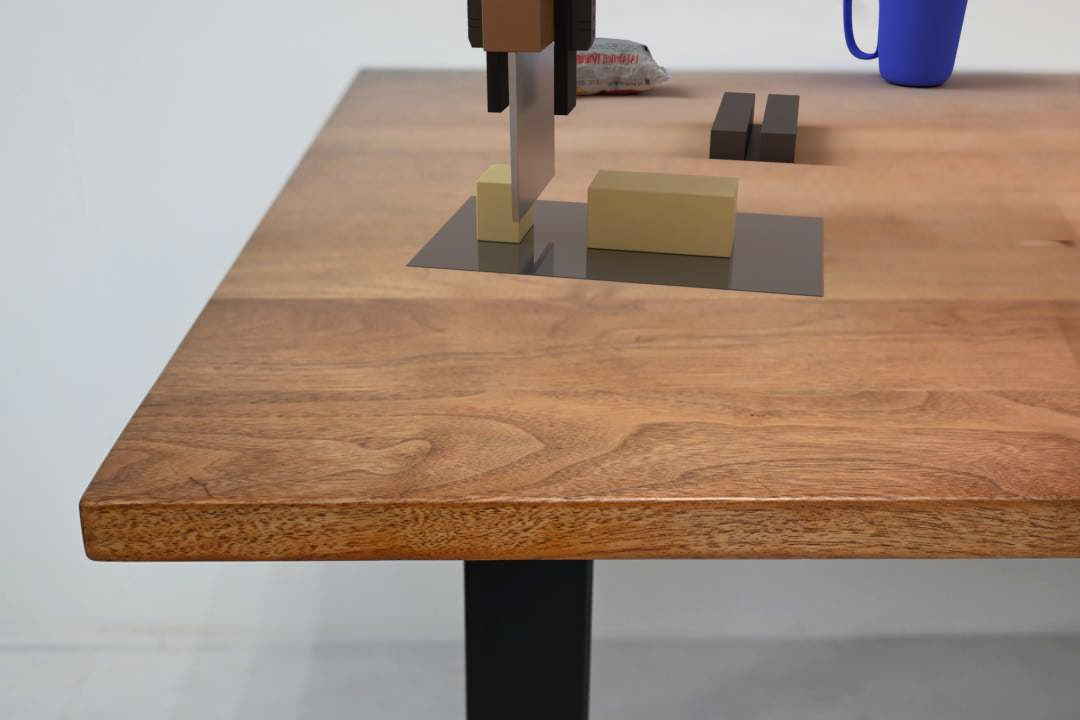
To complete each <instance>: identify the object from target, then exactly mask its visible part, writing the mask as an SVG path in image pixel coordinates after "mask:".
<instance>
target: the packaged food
mask: <svg viewBox="0 0 1080 720" xmlns="http://www.w3.org/2000/svg"><path fill="white" fill-rule="evenodd" d="M672 74H673V71H672V69H670V68H666V67H664V66H660V65H659V64H658V63H657V61H656V60H655V59H654V58H653V55H652V52H651V50H650V49H649V47H648V46H647V45H646V44H644V43H640V42H638V41H637V42H636V41H633V40H629V39H623V38H622V39H621V38H610V37H596V38H595V40H594V42H593V45H592V47H591V48H590V49H589V50H588V51H577V63H576V96H598V95H606V96H607V95H608V96H621V95H631V94H635V93H641V92H644V91H647V90H651V89H652V88H653V87H654V86H657V85H662V83H666V82H669V80H670V79H671V78H672V76H673V75H672Z"/></svg>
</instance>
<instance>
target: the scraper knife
mask: <svg viewBox="0 0 1080 720" xmlns="http://www.w3.org/2000/svg"><path fill="white" fill-rule="evenodd" d="M482 26H483V48H482V51H483V52H484V53H486V52H508V72H509V106H508V108H509V145H510V146H509V148H510V149H509V150H510V151H509V153H510V165H511V194H512V222H520V220H521V219H522V218H523V216H524V215H525V214H526V213H527V211H528V210H529V209H530V207H531V206H532V205H533V203H534V202H535V201H536V200H538V198H539V197H540V196H541V194H542V193H543V192H544V191H545V189H546V188H547V186H548V185H549V184H550V183H551V181H552V180H553V178H554V177H555V176H556V156H555V155H556V147H555V146H556V145H555V143H556V140H555V139H556V138H555V115H554V0H482Z"/></svg>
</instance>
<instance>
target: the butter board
mask: <svg viewBox="0 0 1080 720" xmlns="http://www.w3.org/2000/svg"><path fill="white" fill-rule="evenodd" d="M587 203H588V202H577V201H563V200H549V199H548V200H547V199H546V200H545V199H536V201H535V202H534V223H533V225H532V226H531V228H530V229H529V230H528V232H527V233H526V235H525V236H524V237H523V239H522V240H521V241H520V243H508V242H494V241H479V240H477V200H476V195H470V196H469V197H468V198H467V200H466V201H465V202H464V203H463V204H462V205H461V206H460V207H459V208H458V209H457V210H456V211H455V213H453V214H452V215H451V216H450V218H449V219H447V221H445V223H444V224H443V225H442V226H441V227H440V228H439V229H438V230H437V232H435V234H433V236H432V237H431V238H430V239H429V240H428V241H427V242H426V244H424V245H423V247H422V248H421V249H420V250H418V252H417V253H416V254H415V255H414V256H413V257H411V259H410V260H409V261H408V262H407V263H406V265H405V267H409V268H423V269H437V270H450V271H465V272H476V273H491V274H505V275H518V276H532V277H546V278H556V279H557V278H559V279H572V280H587V281H598V282H599V281H600V282H612V283H613V282H614V283H625V284H626V283H627V284H640V285H654V286H667V287H668V286H669V287H678V288H679V287H681V288H693V289H706V290H707V289H709V290H720V291H722V290H723V291H734V292H748V293H763V294H777V295H787V296H788V295H789V296H802V297H816V298H824V217H819V216H818V217H817V216H805V215H804V216H803V215H787V214H786V215H785V214H770V213H757V212H756V213H755V212H739V211H736V226H735V237H734V242H733V246H732V251H731V256H730V257H729V258H727V257H713V256H698V255H684V254H669V253H655V252H640V251H626V250H611V249H597V248H587Z"/></svg>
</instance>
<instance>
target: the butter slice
mask: <svg viewBox="0 0 1080 720" xmlns="http://www.w3.org/2000/svg"><path fill="white" fill-rule="evenodd" d="M475 188H476V189H475V190H476V193H475V194H476V195H475V196H476V200H477V240H479V241H494V242H508V243H520V241H521V240H522V239H523V237H524V236H525V235H526V233H527V232H528V230H529V229H530V228H531V226H532V225H533V223H534V203H533V205H532V206H531V207H530V209H529V210H528V211H527V213H526V214H525V215H524V216H523V218H522V219H521V220H520V222H512V194H511V164H506V163H505V164H504V163H492V164H491V165H490V166H489V167H488V169H486V171H484V172H483V174H481V176H479V178H478V179H477V180H476V182H475Z"/></svg>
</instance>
